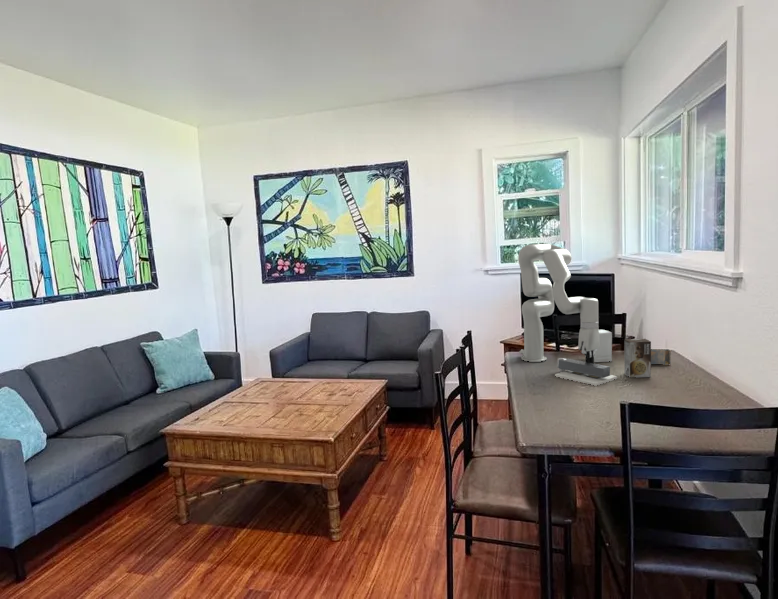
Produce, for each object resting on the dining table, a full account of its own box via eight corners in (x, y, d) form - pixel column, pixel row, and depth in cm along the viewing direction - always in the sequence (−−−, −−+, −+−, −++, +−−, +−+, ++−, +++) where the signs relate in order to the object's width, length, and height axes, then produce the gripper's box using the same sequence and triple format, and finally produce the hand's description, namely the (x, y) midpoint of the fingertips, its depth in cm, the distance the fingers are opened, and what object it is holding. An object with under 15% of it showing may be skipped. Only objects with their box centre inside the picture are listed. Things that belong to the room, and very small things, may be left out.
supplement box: (612, 361, 236) (612, 332, 235) (595, 362, 236) (595, 333, 234) (603, 357, 245) (603, 329, 244) (586, 358, 245) (586, 330, 243)
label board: (549, 375, 217) (549, 370, 217) (570, 369, 226) (570, 364, 226) (595, 386, 198) (595, 380, 198) (617, 378, 207) (617, 373, 206)
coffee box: (644, 373, 213) (645, 338, 211) (651, 377, 207) (651, 341, 205) (623, 373, 214) (624, 338, 212) (629, 377, 208) (629, 341, 206)
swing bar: (555, 367, 220) (555, 359, 220) (561, 365, 223) (561, 357, 223) (603, 377, 201) (603, 368, 200) (609, 375, 203) (609, 366, 203)
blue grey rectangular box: (644, 365, 228) (644, 346, 226) (642, 364, 230) (643, 344, 229) (670, 366, 224) (671, 346, 223) (668, 364, 227) (669, 345, 226)
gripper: (591, 322, 222) (591, 361, 224) (572, 326, 214) (572, 366, 215) (606, 324, 216) (606, 363, 218) (587, 328, 207) (587, 369, 209)
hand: (589, 364), depth 216 cm, fingers closed
